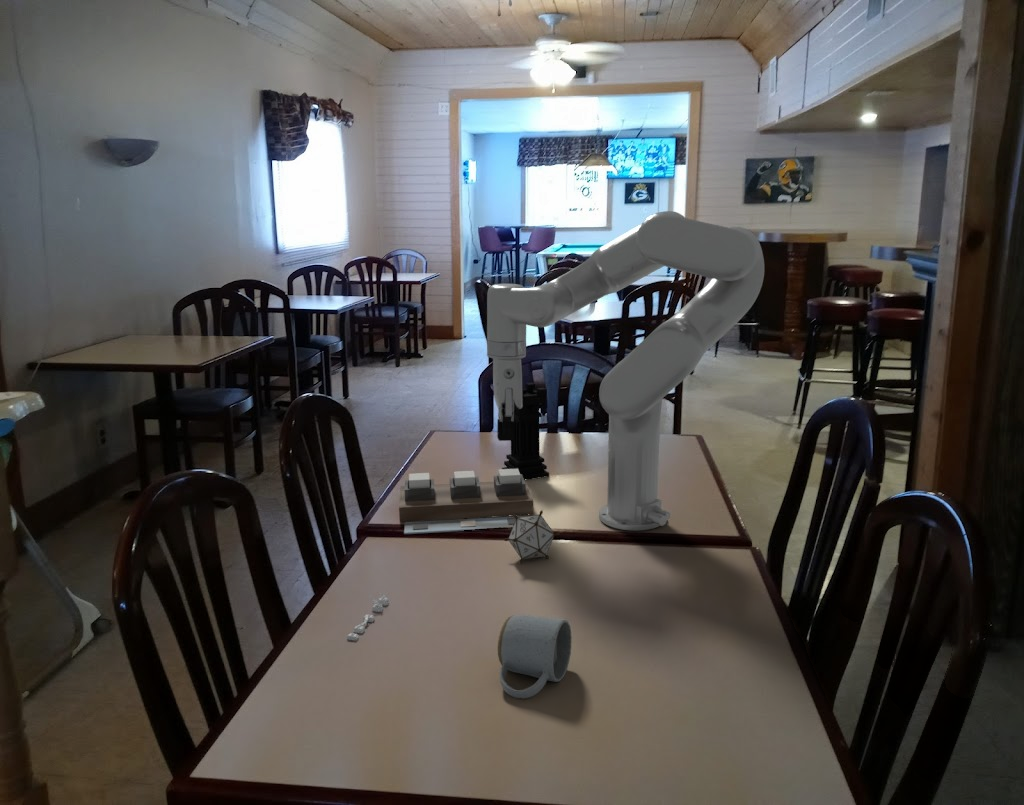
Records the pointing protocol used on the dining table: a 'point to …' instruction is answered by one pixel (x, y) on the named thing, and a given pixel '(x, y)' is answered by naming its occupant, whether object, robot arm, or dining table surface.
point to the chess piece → (527, 435)
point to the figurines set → (369, 617)
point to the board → (463, 506)
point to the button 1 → (419, 480)
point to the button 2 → (509, 476)
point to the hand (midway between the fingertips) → (505, 439)
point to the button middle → (464, 478)
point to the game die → (531, 536)
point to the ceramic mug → (534, 650)
